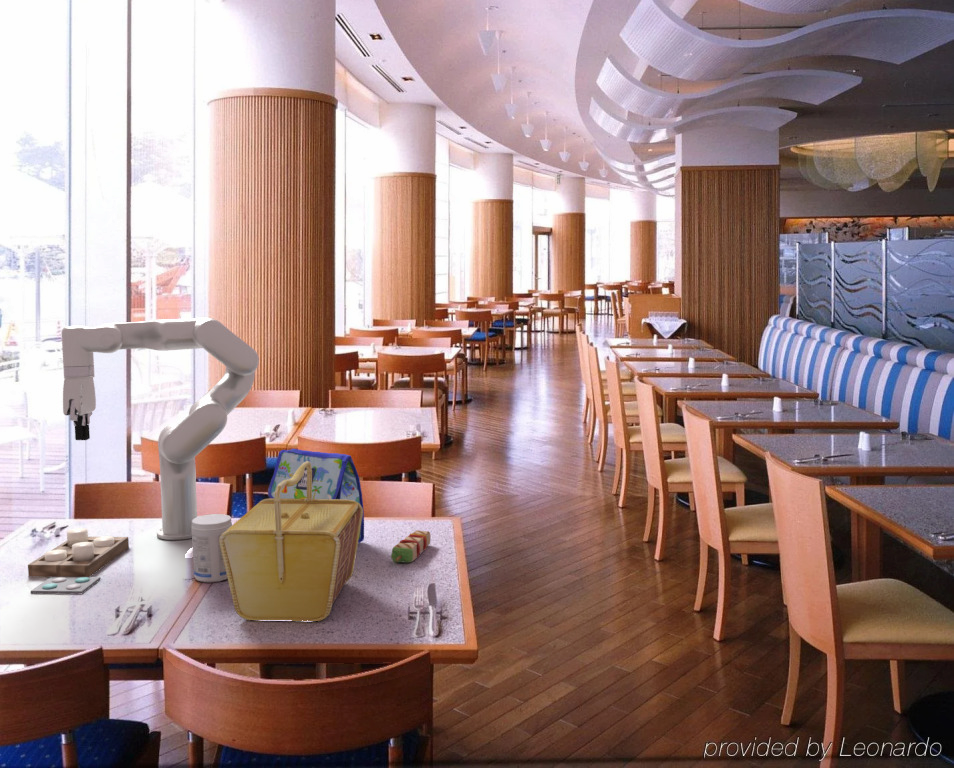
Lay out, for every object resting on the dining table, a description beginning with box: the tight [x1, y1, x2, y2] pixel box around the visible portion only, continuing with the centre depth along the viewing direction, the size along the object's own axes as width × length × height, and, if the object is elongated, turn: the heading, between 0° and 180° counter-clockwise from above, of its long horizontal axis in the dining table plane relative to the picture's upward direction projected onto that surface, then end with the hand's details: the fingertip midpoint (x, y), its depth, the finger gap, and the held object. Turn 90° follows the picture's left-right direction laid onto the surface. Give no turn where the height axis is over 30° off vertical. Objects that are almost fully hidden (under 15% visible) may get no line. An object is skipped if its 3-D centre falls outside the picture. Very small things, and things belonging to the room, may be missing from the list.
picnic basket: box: [219, 461, 364, 622], centre depth 205 cm, size 29×26×30 cm
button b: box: [66, 527, 89, 547], centre depth 241 cm, size 5×5×4 cm
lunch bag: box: [267, 448, 365, 544], centre depth 248 cm, size 22×17×26 cm
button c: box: [72, 542, 94, 561], centre depth 229 cm, size 5×5×4 cm
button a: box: [94, 535, 115, 547], centre depth 241 cm, size 5×5×4 cm
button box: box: [27, 536, 130, 578], centre depth 235 cm, size 15×24×3 cm, turn 179°
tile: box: [30, 576, 102, 594], centre depth 217 cm, size 12×10×1 cm
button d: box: [44, 549, 67, 561], centre depth 229 cm, size 5×5×4 cm
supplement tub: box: [191, 513, 233, 583], centre depth 223 cm, size 10×10×15 cm
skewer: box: [390, 529, 432, 563], centre depth 240 cm, size 21×6×5 cm, turn 165°
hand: (82, 439), depth 247 cm, fingers closed
